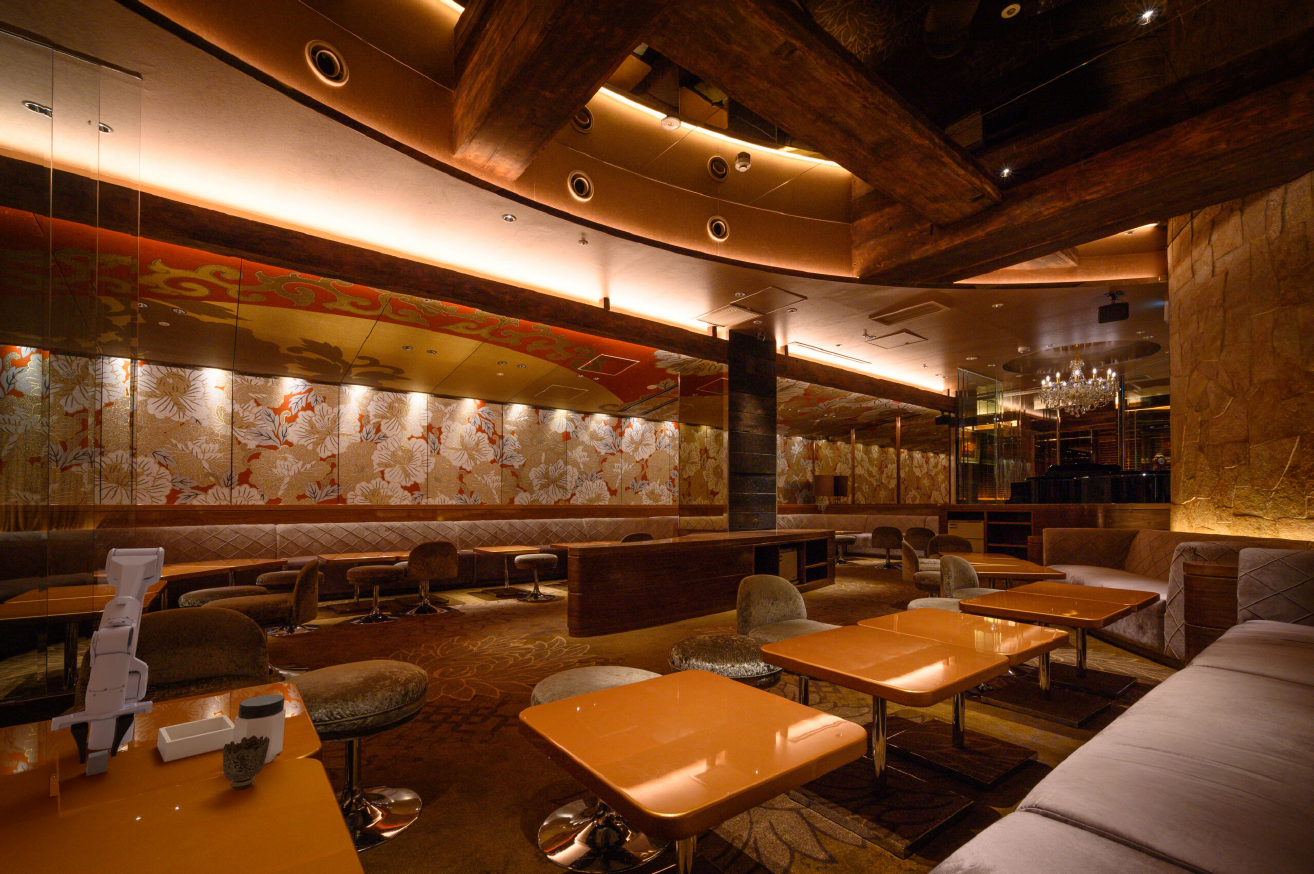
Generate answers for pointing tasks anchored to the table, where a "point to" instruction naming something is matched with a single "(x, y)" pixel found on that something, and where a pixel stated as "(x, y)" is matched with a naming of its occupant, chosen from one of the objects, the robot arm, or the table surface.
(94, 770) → the lid
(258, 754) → the cup
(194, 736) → the box
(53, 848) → the table surface
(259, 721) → the jar
